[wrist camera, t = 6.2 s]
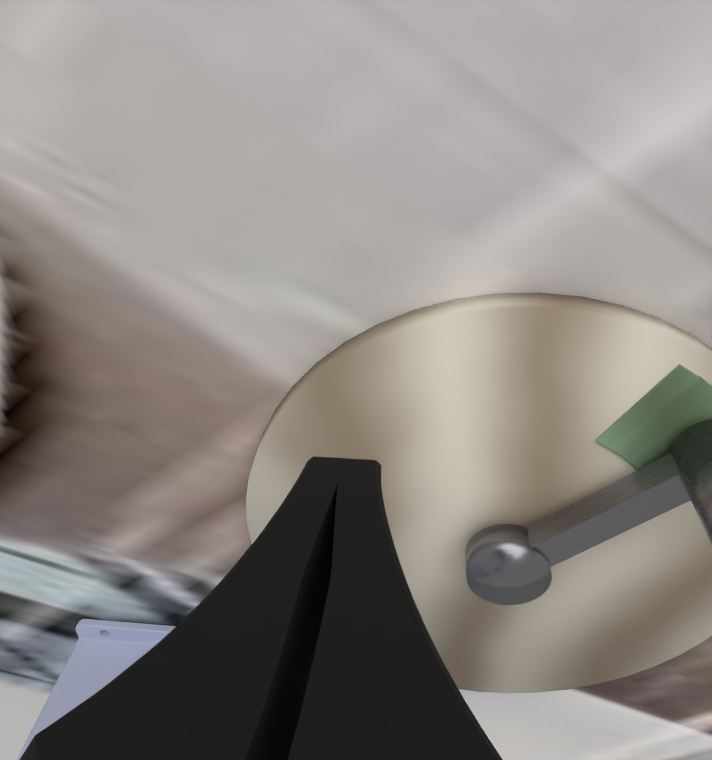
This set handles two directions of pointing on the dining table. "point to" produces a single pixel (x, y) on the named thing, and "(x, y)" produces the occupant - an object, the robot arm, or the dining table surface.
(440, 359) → the dial board
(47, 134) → the dining table surface
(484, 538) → the lever
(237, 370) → the dining table surface
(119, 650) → the robot arm
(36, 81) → the dining table surface
